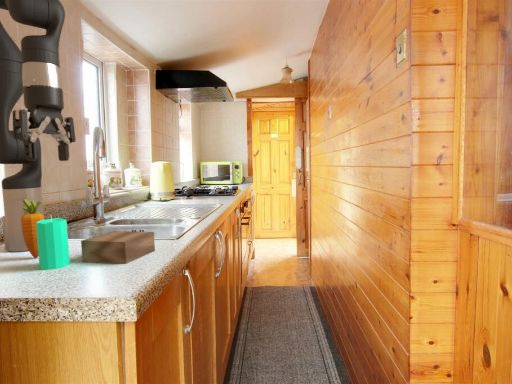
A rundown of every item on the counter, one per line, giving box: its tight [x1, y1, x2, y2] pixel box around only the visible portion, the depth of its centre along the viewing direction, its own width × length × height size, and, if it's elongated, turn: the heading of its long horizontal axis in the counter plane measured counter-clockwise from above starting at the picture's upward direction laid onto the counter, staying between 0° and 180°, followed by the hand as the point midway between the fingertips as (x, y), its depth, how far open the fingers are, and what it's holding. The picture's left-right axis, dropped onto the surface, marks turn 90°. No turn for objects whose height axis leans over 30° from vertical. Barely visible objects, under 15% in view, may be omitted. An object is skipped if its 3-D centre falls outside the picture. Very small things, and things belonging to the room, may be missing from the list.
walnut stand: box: [80, 230, 156, 264], centre depth 86 cm, size 12×12×5 cm
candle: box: [36, 216, 71, 271], centre depth 79 cm, size 6×6×12 cm
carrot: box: [21, 199, 45, 259], centre depth 87 cm, size 5×5×15 cm
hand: (48, 160), depth 78 cm, fingers open, 8 cm apart
